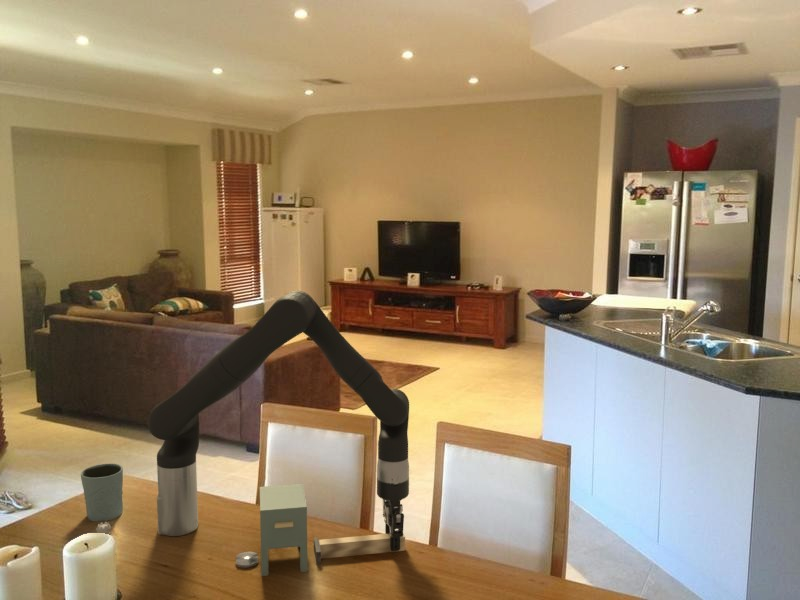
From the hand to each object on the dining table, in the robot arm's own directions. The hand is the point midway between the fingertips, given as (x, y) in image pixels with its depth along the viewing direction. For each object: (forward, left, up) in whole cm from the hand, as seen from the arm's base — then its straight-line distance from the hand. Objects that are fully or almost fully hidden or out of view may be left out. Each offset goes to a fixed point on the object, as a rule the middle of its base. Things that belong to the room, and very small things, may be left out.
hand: (392, 543), depth 162 cm
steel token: (-34, 0, -1) cm, 34 cm away
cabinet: (-26, 0, -1) cm, 26 cm away
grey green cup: (-71, +33, -1) cm, 78 cm away
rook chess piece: (-66, +9, -1) cm, 66 cm away
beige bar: (-7, 0, -1) cm, 7 cm away
